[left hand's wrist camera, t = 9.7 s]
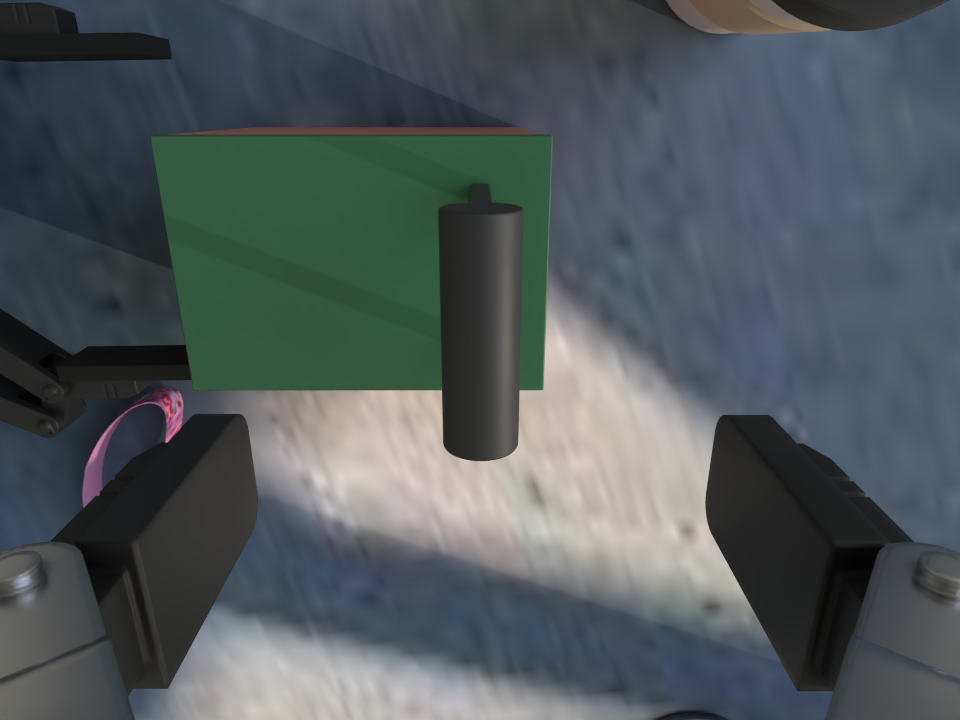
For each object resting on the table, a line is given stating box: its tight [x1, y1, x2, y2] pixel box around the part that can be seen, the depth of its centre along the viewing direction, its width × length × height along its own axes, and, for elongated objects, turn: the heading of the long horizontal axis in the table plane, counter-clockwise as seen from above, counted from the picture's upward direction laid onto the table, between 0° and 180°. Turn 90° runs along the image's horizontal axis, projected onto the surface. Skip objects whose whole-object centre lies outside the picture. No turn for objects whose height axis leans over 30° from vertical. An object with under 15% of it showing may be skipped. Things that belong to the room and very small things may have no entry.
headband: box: [82, 387, 183, 508], centre depth 39 cm, size 11×4×2 cm, turn 155°
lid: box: [150, 134, 553, 461], centre depth 21 cm, size 14×10×9 cm
